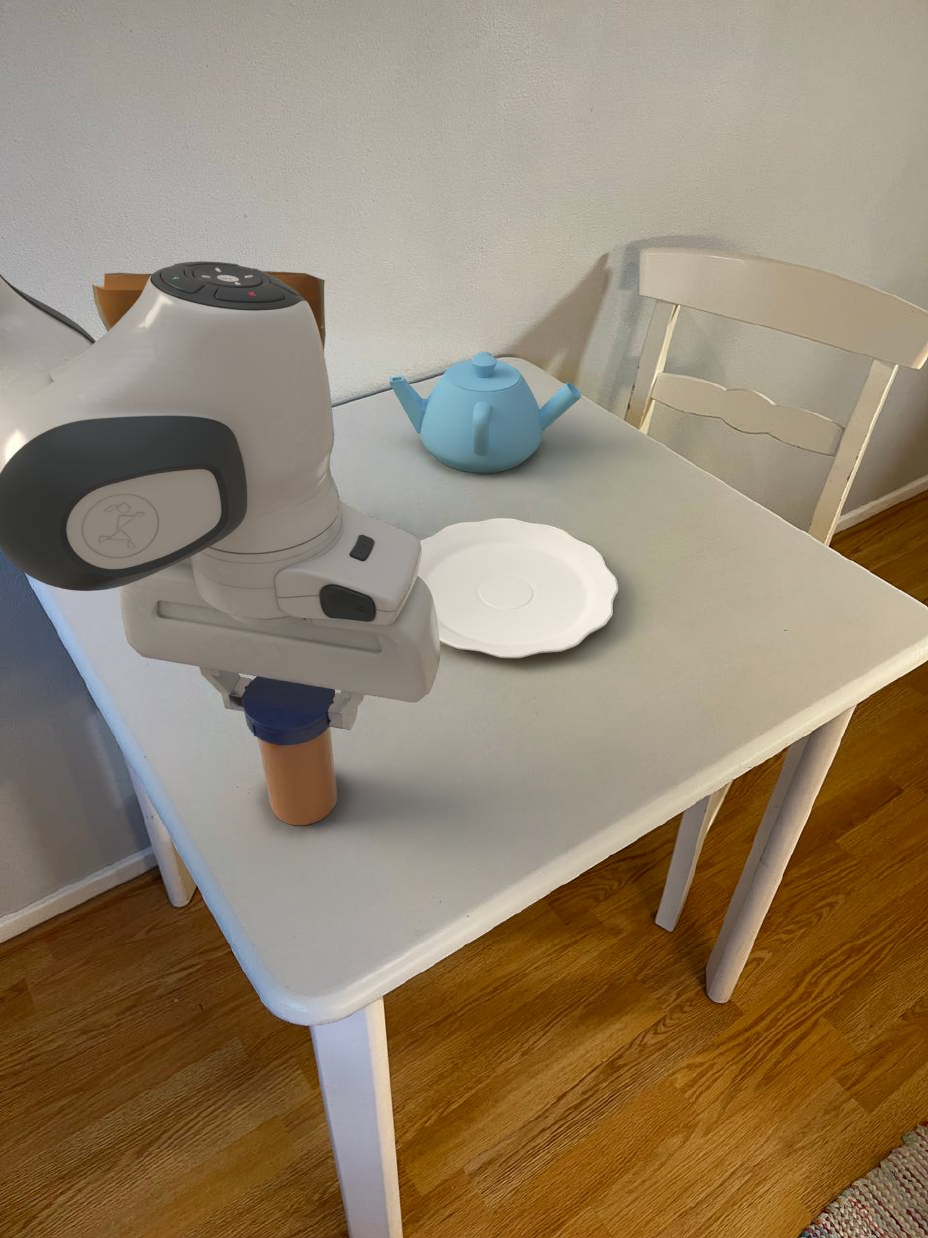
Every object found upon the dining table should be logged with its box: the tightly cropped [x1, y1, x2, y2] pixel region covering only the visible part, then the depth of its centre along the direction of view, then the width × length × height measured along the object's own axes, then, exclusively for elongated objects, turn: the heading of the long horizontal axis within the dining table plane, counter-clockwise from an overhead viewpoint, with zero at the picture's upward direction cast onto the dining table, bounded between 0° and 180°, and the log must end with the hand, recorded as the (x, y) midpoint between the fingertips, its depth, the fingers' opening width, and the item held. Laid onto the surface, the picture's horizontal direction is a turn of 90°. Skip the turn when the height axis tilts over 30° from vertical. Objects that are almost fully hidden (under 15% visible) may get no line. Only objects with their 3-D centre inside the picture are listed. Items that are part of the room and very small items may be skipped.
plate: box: [417, 517, 619, 659], centre depth 86 cm, size 21×21×2 cm
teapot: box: [389, 351, 582, 474], centre depth 104 cm, size 15×17×11 cm
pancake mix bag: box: [91, 270, 327, 352], centre depth 83 cm, size 7×19×28 cm, turn 84°
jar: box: [257, 727, 338, 826], centre depth 64 cm, size 5×5×10 cm
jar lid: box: [243, 676, 336, 745], centre depth 61 cm, size 6×6×2 cm
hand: (292, 713), depth 62 cm, fingers closed on jar lid, 6 cm apart
